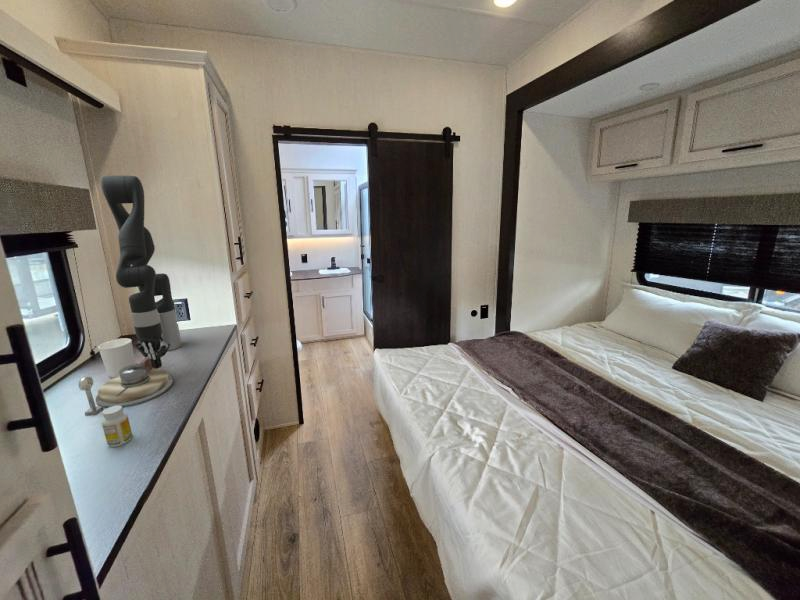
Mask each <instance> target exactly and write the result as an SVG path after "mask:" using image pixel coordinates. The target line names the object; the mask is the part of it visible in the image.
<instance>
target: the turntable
mask: <svg viewBox="0 0 800 600" xmlns="http://www.w3.org/2000/svg"><path fill="white" fill-rule="evenodd" d="M139 364H145V365H146V369H147V374H148V375H149V377H150V380H149V381H148V382H146V383H145V384H143V385H140V386H137V387H132V388H123V387H121V379H120V376H119V377H116V378H113V379H110V380H109V381H107V382H105V383H103V384H102V385H101V386H100V387H99V388H98V390H97V395H99V398H100V400H101V401H103V402H107V403H120V402H127V401H132V400H136V399H139V398H142V397H145V396H148V395H150V394H152V393H155V392H156V391H158V390H160V389H161V388H163V387H164V386H165V385H166V384H167V383H168V381H169V377H168V375H169V374H168V371H167V370H164V369H160V368H158V369H154V368H153V367H152V364H151V360H150V359H149V358H148V357H145V358H144V359H143V360H141V361H140V363H139Z"/></svg>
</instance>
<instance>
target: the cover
mask: <svg viewBox="0 0 800 600" xmlns="http://www.w3.org/2000/svg"><path fill="white" fill-rule="evenodd" d="M119 375H120V379H121V387H123V388H132V387H137V386H140V385H143V384H145V383H146V382H148V381H149V380H150V377H149V375H148V374H147V369H146V365H145V364H141V363H135V365H130V366H127V367H125V368H123V369H121V370H120V371H119Z"/></svg>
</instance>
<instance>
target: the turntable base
mask: <svg viewBox="0 0 800 600" xmlns="http://www.w3.org/2000/svg"><path fill="white" fill-rule="evenodd" d="M168 377H169V381H168V383H167V384H166V385H165V386H164V387H163V388H161V389H160V390H158V391H156V392H155V393H152V394H150V395H148V396H145V397H142V398H139V399H136V400H132V401H127V402H120V403H107V402H103V401H101V400H100V398H99V395H98V394H97V396H95V402H96V405H97V407H98V406H103V409H107V408H109V407H112V406H117V405H119V406H122V408H127V407H131V406H136V405H140V404H143V403H146V402H148V401H151V400H153V399H155V398H158V397H160V396H161V395H162V394H164V393H166V392H168V391H169V389H170V388H171V387H172V386H173V383H174V381H173V380H174V379H173V377H172V376H171V375H170V374H168Z"/></svg>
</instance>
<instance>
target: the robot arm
mask: <svg viewBox="0 0 800 600" xmlns="http://www.w3.org/2000/svg"><path fill="white" fill-rule="evenodd" d="M99 182H100V186H101V191H102V194H103V196H104V198H105V200H106V202H107V205H108V207H109V209H110V211H111V214H112V216H113V218H114V220H115V223H116V225H117V228H118V232H119V233H118V245H119V253H120V254H119V261H118V267H117V269H116V273H115V279H116V282H117V284H118V285H119V286H120V287H122V288H124V289H125V288H126V289H130V288H136V287H137V288H138V291H139V292H136V293H132V294H131V295H129V297H128V303H129V307H130V311H131V319H132V323H133V327H134V331H135V335H136V337H137V339H138V342H137V343H135V344H134V347H135V348H136V349H137V350H138V352H140V354H141V355H142V356H143V357H144V358H147V357H148V358H149V359H150V360H151V364H152V367H153V369H160V368H161V367H162V366H163V364H162V359H161V358H162V357H165V356H166V354H167V352H169V351H173V350H176V349H179V348H181V346H182V338H181V333H180V328H179V324H178V321H177V315H176V312H175V311H176V310H175V306H174V301H173V297H172V295H173V294H172V287H171V282H170V278H169V276H168V275H167V274H166V273H156V270H155V269H154V267H153V266H151V265H148V264H149V262H150V261H151V258H153V255H154V253H155V251H156V250H155V249H156V247H155V244H154V243H155V242H154V240H153V236H152V233H151V232H150V231H149V229H148V228H147V227H145V191H144V186H143V183H142V181H141V180H140V178H139V177H137V176H136V175H114V174H113V175H109V174H108V175H102V176H101V178H100V181H99ZM123 204H132V208H131V212H130V213H129V212H128V211H127V209H126V208H125V207H124V205H123ZM159 296H162V298H160V299H159V300H158V301H156V299H155V297H159Z"/></svg>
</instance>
